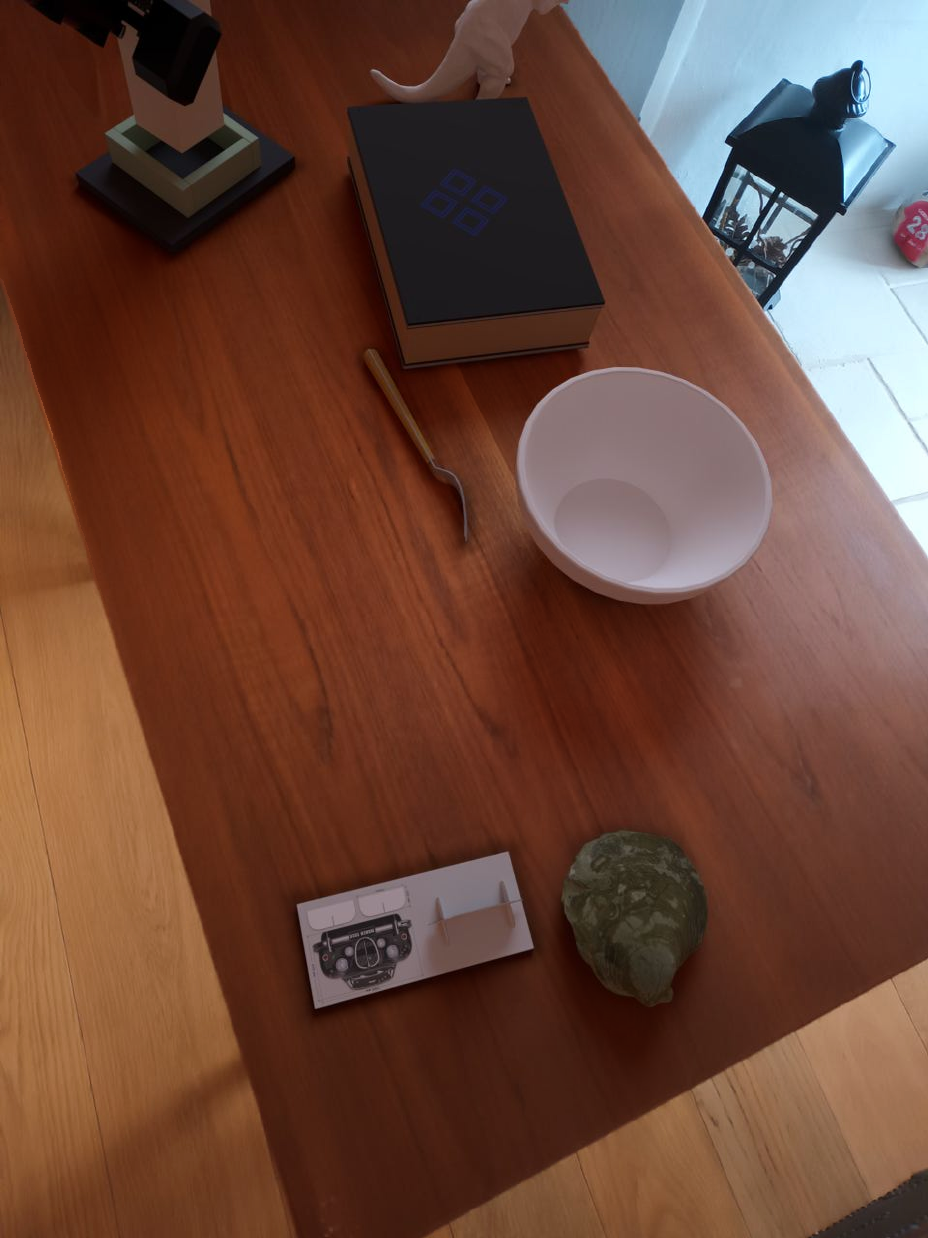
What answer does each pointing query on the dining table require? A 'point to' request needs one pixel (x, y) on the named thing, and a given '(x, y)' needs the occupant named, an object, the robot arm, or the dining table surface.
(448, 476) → the fork
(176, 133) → the white rectangular block
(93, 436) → the dining table surface
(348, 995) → the car cutout
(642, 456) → the bowl
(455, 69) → the dinosaur figurine
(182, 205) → the stepped rectangular base
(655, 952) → the seashell
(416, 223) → the book
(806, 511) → the dining table surface
